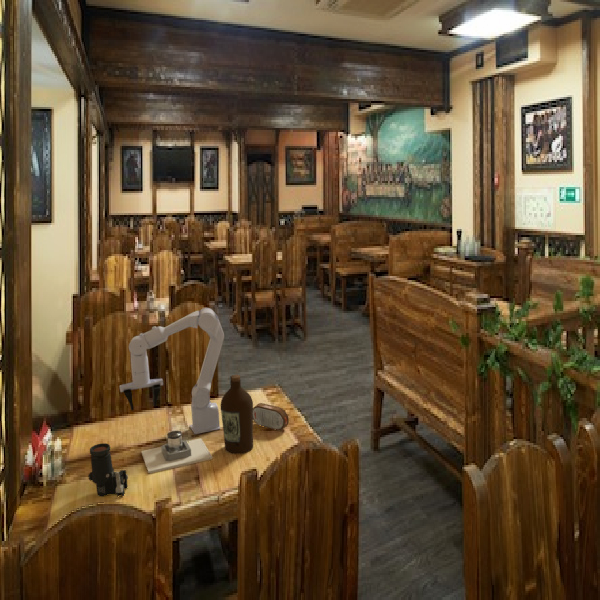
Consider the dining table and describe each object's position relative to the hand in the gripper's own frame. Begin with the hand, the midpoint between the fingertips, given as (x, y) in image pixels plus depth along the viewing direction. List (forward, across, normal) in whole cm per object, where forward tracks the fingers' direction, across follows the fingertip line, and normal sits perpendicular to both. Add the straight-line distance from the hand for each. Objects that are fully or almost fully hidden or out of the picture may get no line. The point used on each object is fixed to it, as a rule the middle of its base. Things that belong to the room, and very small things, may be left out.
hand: (143, 407), depth 185 cm
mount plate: (+10, -6, +21) cm, 25 cm away
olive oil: (+11, -26, +26) cm, 38 cm away
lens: (+10, -6, +21) cm, 24 cm away
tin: (+11, -41, +16) cm, 46 cm away
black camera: (+11, +16, +34) cm, 39 cm away
